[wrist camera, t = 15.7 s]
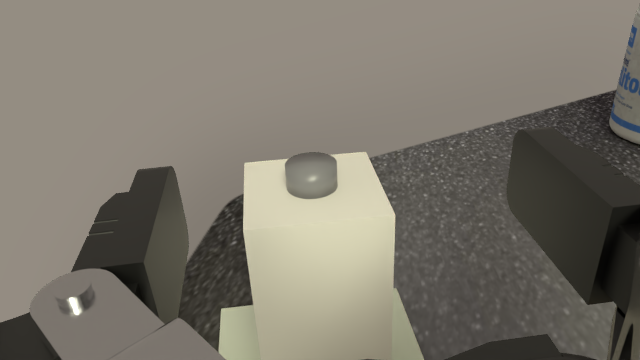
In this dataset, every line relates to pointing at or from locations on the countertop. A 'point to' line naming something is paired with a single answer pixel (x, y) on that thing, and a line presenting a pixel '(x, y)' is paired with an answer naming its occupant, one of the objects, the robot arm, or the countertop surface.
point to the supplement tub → (629, 90)
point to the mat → (244, 347)
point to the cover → (320, 257)
